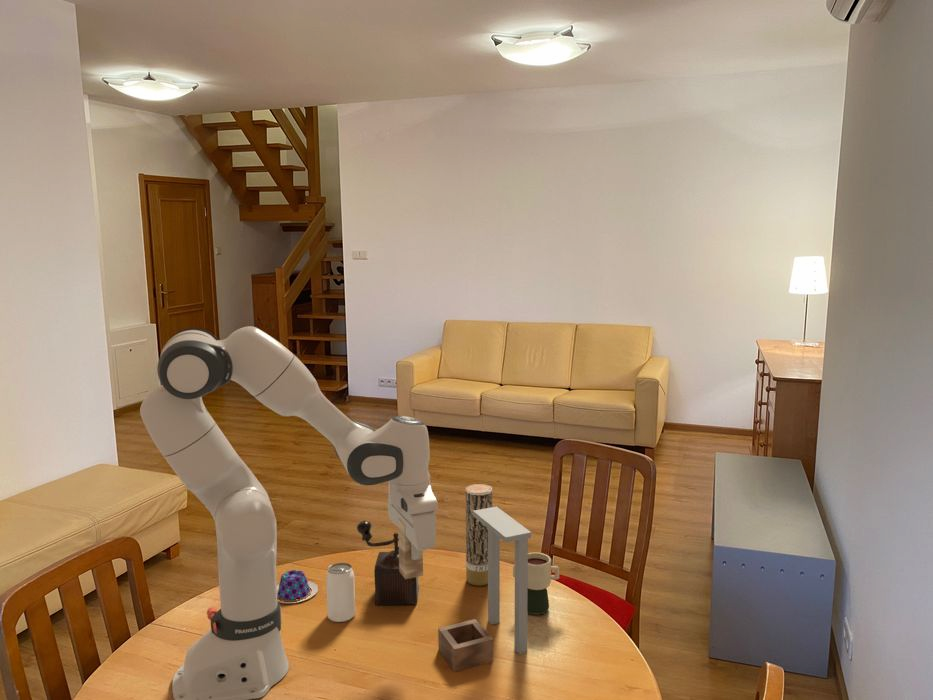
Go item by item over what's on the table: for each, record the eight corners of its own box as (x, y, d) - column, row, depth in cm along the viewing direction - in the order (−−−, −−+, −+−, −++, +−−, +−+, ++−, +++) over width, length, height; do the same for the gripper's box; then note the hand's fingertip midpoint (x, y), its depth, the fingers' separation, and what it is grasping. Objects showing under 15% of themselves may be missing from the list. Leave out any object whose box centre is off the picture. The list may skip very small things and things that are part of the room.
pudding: (278, 582, 183) (277, 563, 182) (323, 583, 182) (322, 564, 181) (262, 605, 171) (261, 585, 170) (310, 606, 170) (309, 586, 170)
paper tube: (460, 580, 183) (460, 488, 179) (479, 572, 187) (479, 482, 183) (478, 589, 178) (478, 495, 174) (497, 580, 182) (497, 488, 178)
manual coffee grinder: (419, 583, 181) (418, 517, 178) (417, 605, 170) (416, 535, 167) (359, 584, 181) (357, 518, 178) (353, 606, 170) (350, 536, 167)
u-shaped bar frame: (505, 659, 148) (505, 537, 144) (473, 622, 162) (472, 510, 158) (530, 652, 150) (531, 532, 146) (496, 617, 164) (496, 506, 160)
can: (349, 624, 162) (347, 575, 160) (323, 621, 163) (321, 573, 161) (359, 610, 168) (357, 563, 166) (333, 607, 169) (332, 560, 168)
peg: (405, 579, 149) (404, 525, 147) (399, 571, 152) (398, 518, 150) (423, 575, 150) (422, 522, 148) (416, 567, 154) (415, 515, 152)
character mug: (558, 603, 171) (558, 552, 169) (559, 618, 164) (560, 566, 162) (513, 601, 172) (513, 551, 170) (512, 616, 165) (512, 564, 163)
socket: (454, 671, 144) (454, 649, 143) (438, 649, 151) (438, 628, 151) (493, 661, 147) (493, 639, 146) (475, 639, 155) (475, 618, 154)
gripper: (380, 479, 157) (381, 537, 159) (411, 510, 138) (412, 576, 140) (407, 475, 159) (408, 532, 161) (441, 505, 141) (441, 569, 143)
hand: (410, 553), depth 151 cm, fingers closed on peg, 4 cm apart
